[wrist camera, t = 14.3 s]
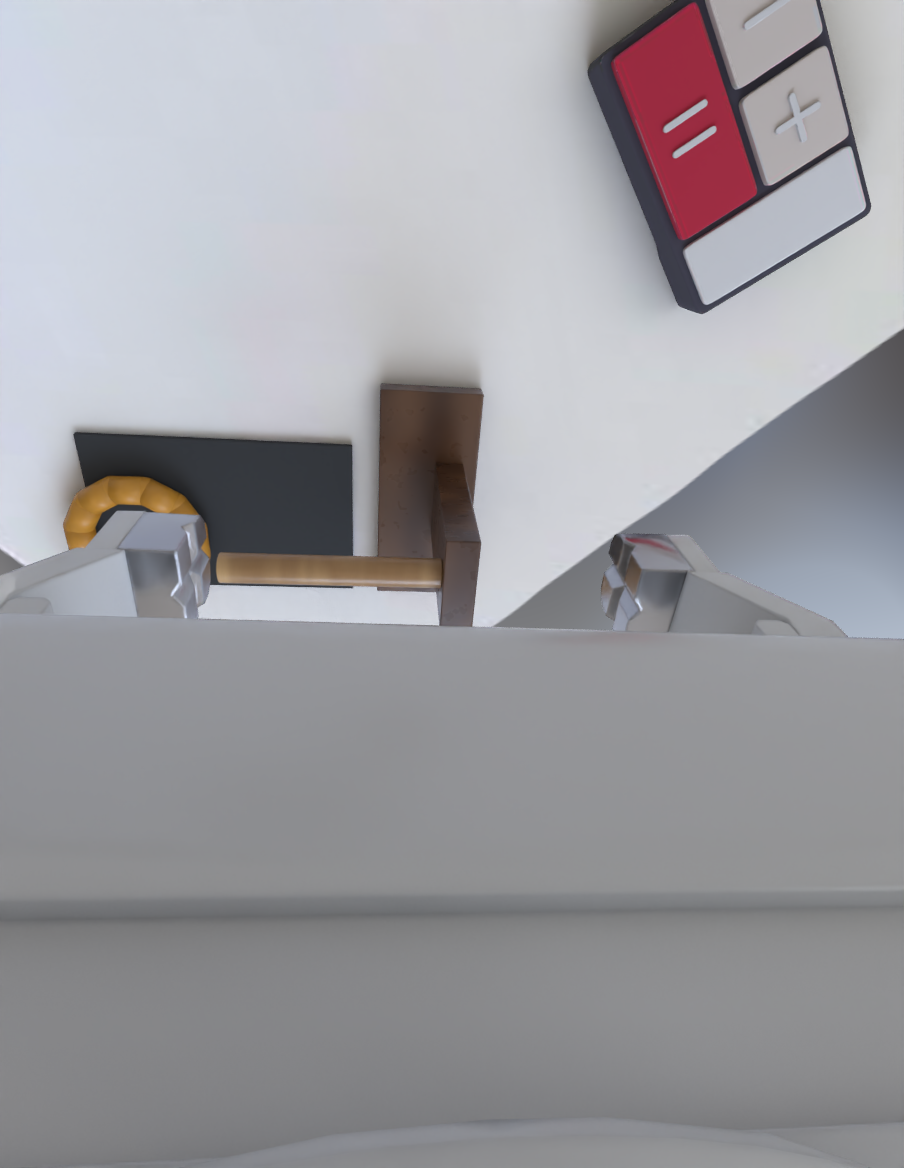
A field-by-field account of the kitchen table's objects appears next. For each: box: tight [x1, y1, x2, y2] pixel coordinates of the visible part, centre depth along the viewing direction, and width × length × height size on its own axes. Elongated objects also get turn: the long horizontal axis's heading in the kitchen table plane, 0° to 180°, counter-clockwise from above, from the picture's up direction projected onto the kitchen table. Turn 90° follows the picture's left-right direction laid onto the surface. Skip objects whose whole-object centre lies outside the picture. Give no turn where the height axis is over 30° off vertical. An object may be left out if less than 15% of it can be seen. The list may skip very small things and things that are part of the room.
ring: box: [63, 476, 211, 560], centre depth 49 cm, size 10×2×10 cm
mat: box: [73, 432, 353, 588], centre depth 50 cm, size 19×12×1 cm, turn 86°
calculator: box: [588, 0, 871, 314], centre depth 38 cm, size 11×4×15 cm
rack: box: [216, 384, 484, 627], centre depth 44 cm, size 16×16×14 cm
